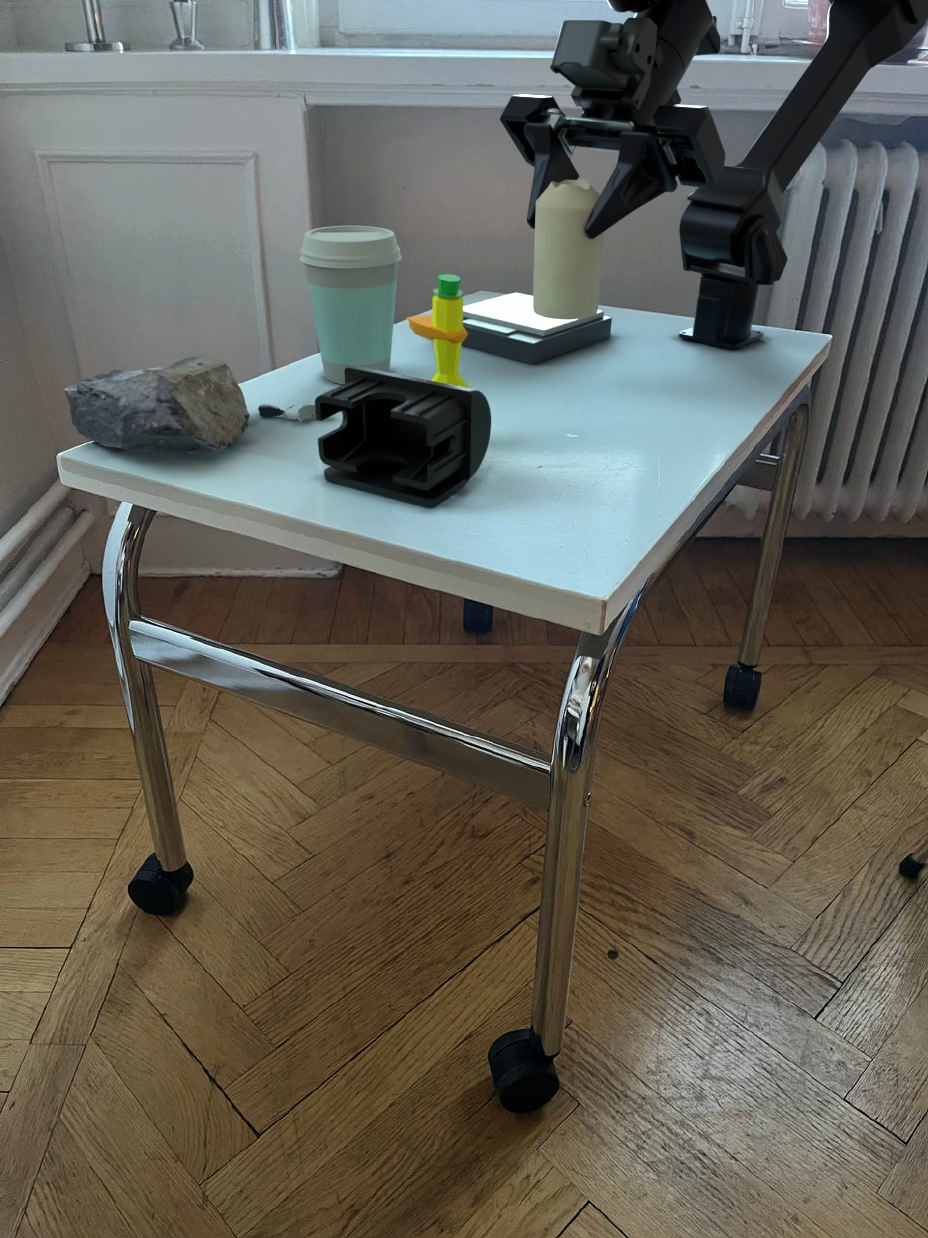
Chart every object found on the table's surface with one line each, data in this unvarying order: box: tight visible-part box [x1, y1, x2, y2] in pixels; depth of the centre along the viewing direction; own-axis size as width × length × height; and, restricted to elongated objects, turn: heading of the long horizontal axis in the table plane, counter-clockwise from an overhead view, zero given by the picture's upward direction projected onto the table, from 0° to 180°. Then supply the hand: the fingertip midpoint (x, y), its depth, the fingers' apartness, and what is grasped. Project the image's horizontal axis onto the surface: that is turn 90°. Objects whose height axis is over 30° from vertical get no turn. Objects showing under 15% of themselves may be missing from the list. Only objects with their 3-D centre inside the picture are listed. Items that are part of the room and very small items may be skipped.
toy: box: [257, 403, 316, 424], centre depth 72 cm, size 1×8×2 cm
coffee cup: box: [299, 225, 403, 385], centre depth 79 cm, size 8×8×12 cm
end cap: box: [314, 366, 492, 509], centre depth 62 cm, size 10×7×7 cm
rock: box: [63, 355, 251, 455], centre depth 67 cm, size 14×11×5 cm
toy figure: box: [406, 273, 473, 389], centre depth 66 cm, size 7×4×12 cm, turn 43°
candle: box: [532, 178, 605, 320], centre depth 74 cm, size 6×6×10 cm
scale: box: [461, 292, 613, 365], centre depth 93 cm, size 13×13×3 cm
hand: (558, 230), depth 72 cm, fingers closed on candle, 5 cm apart
